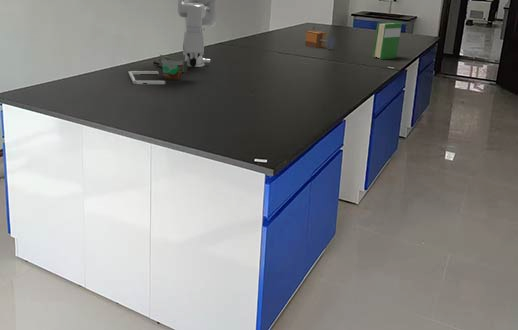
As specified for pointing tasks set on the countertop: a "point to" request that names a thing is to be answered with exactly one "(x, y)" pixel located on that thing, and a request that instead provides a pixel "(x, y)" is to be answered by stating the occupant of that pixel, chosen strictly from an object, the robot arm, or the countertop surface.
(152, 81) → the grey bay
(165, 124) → the countertop surface
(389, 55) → the hardback book
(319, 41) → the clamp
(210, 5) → the robot arm
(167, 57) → the handheld radio
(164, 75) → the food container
